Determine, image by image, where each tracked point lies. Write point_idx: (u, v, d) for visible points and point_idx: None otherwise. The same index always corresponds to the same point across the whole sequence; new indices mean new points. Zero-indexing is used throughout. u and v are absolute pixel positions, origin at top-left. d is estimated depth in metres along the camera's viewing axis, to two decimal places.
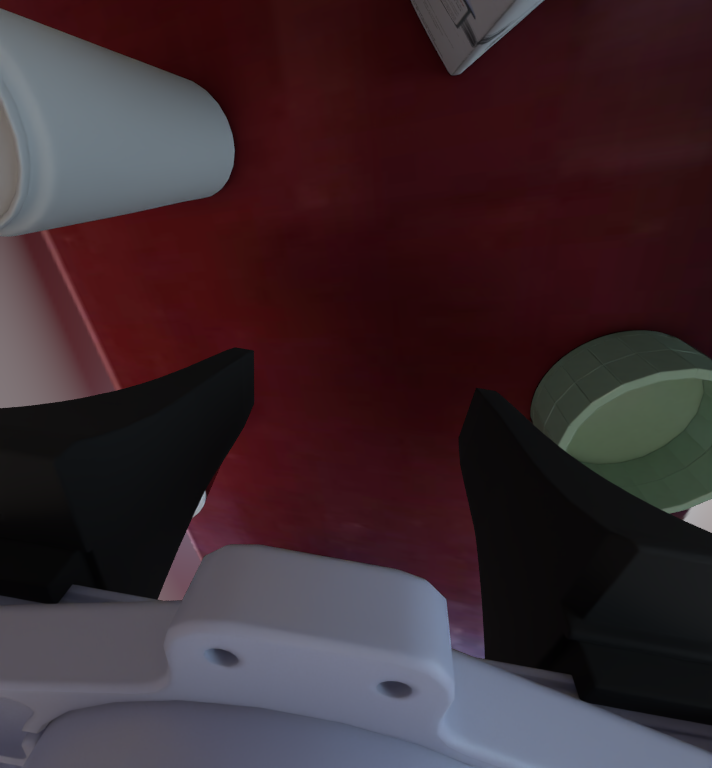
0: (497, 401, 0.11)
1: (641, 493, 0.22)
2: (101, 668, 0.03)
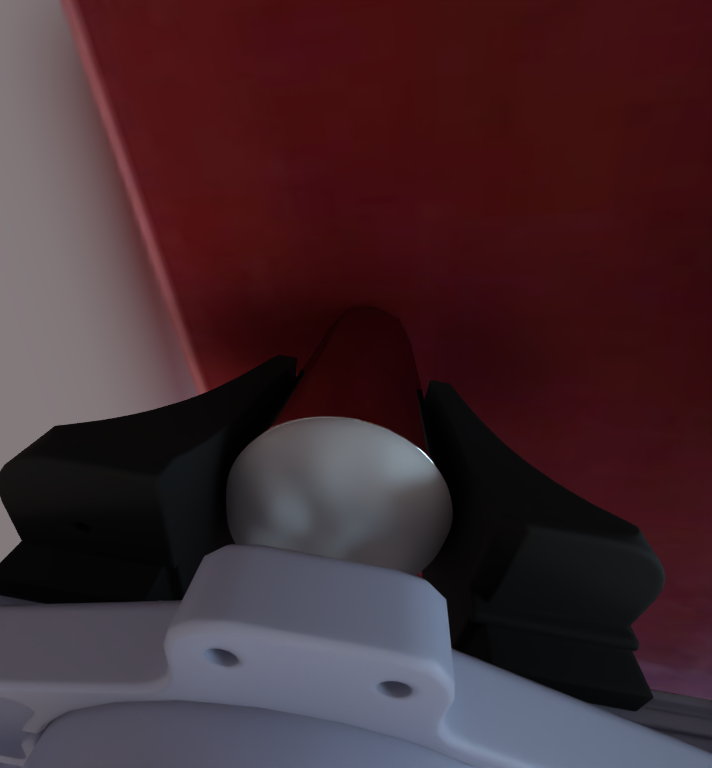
0: (446, 392, 0.11)
1: None
2: (101, 668, 0.03)
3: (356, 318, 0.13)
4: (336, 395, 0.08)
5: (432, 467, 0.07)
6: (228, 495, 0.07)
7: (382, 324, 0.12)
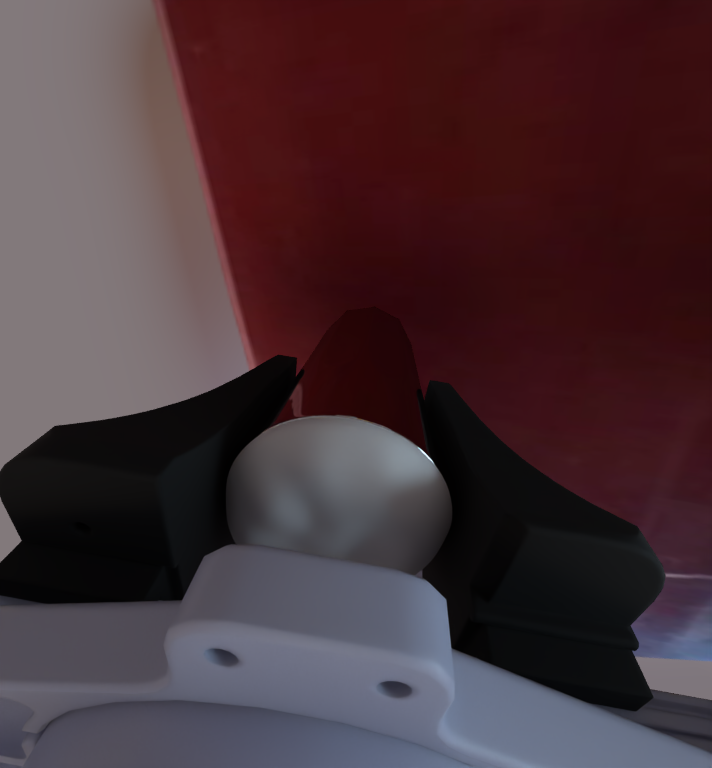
0: (445, 392, 0.11)
1: None
2: (101, 668, 0.03)
3: (356, 318, 0.13)
4: (336, 394, 0.08)
5: (432, 466, 0.07)
6: (228, 494, 0.07)
7: (382, 324, 0.12)
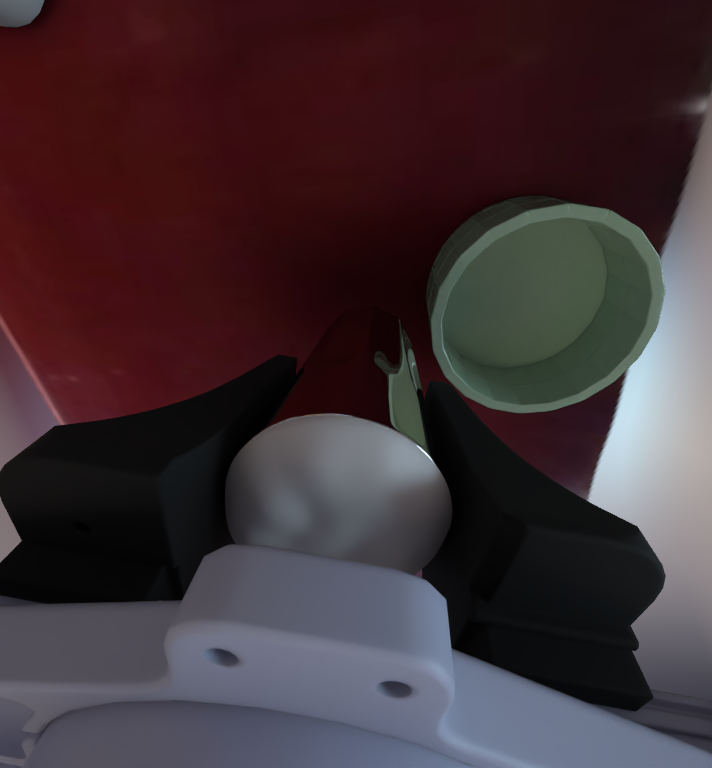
0: (445, 392, 0.11)
1: (541, 389, 0.20)
2: (101, 668, 0.03)
3: (356, 317, 0.13)
4: (335, 393, 0.08)
5: (432, 465, 0.07)
6: (227, 493, 0.07)
7: (382, 323, 0.12)
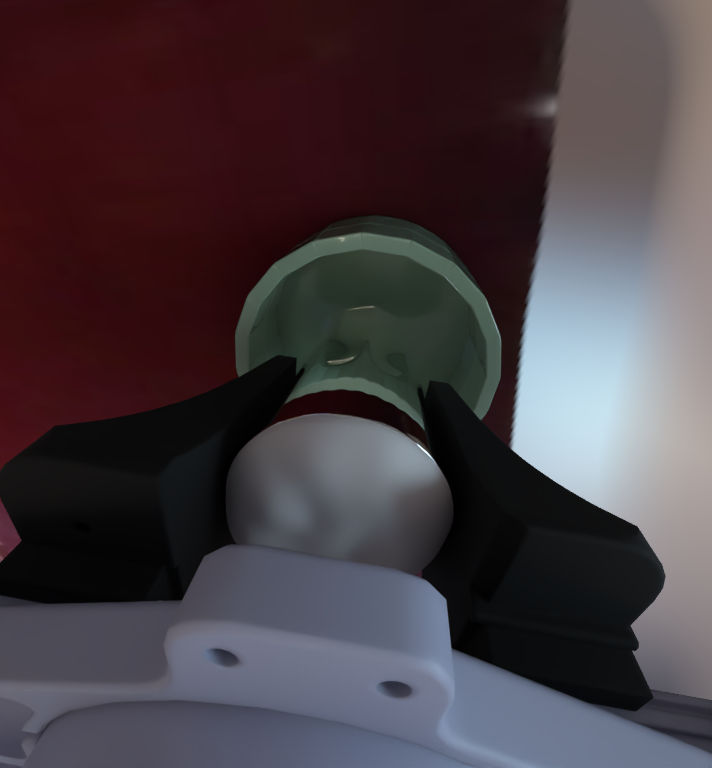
0: (446, 392, 0.11)
1: None
2: (101, 668, 0.03)
3: (356, 316, 0.13)
4: (336, 393, 0.07)
5: (433, 465, 0.07)
6: (228, 493, 0.07)
7: (382, 322, 0.12)
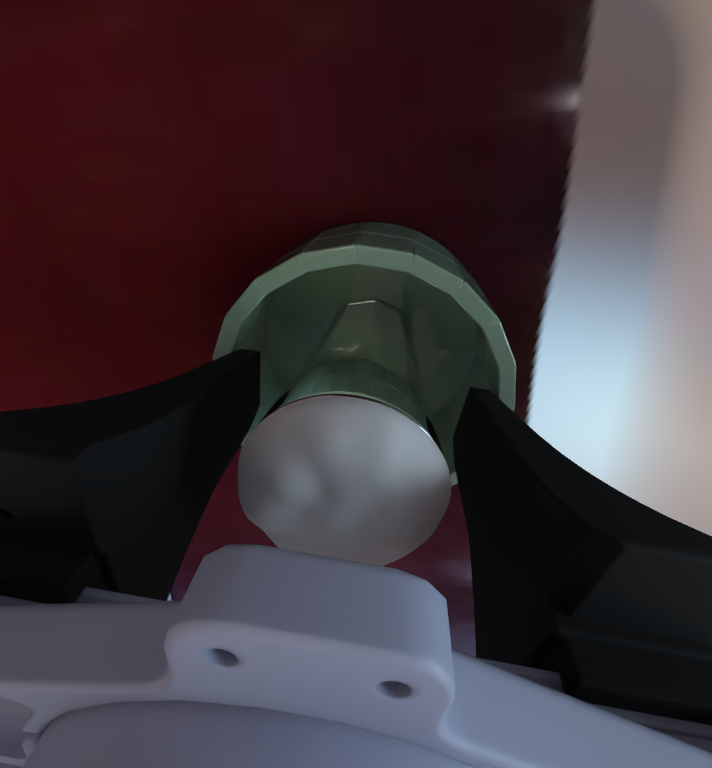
0: (490, 400, 0.11)
1: None
2: (101, 668, 0.03)
3: (358, 310, 0.13)
4: (341, 377, 0.08)
5: (432, 443, 0.07)
6: (240, 471, 0.08)
7: (383, 316, 0.13)
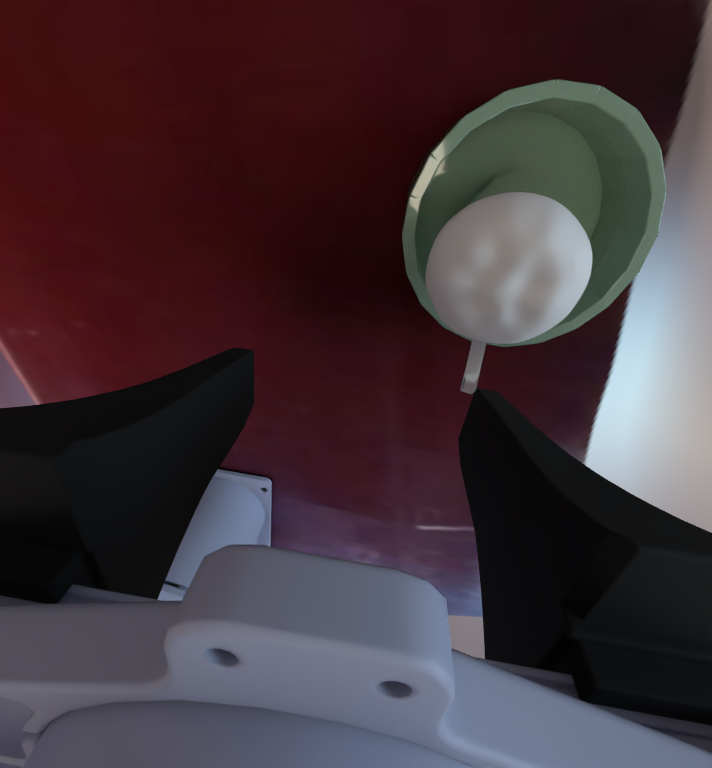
0: (497, 401, 0.11)
1: None
2: (101, 668, 0.03)
3: (506, 176, 0.16)
4: (514, 189, 0.11)
5: (584, 230, 0.10)
6: (434, 252, 0.11)
7: (530, 179, 0.15)
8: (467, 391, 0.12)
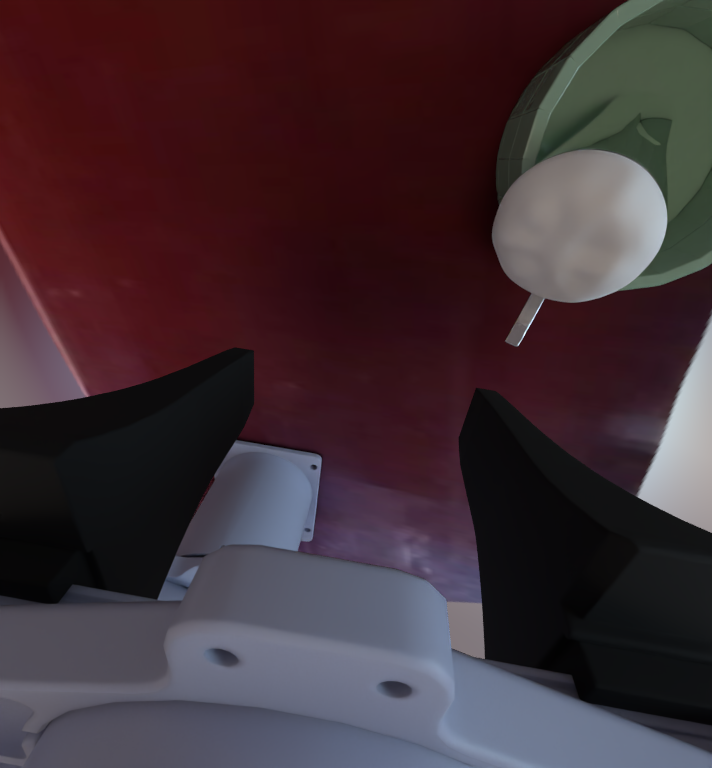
0: (497, 401, 0.11)
1: None
2: (101, 668, 0.03)
3: (629, 100, 0.14)
4: (601, 141, 0.10)
5: (662, 197, 0.10)
6: (502, 206, 0.12)
7: (656, 106, 0.13)
8: (511, 343, 0.13)
